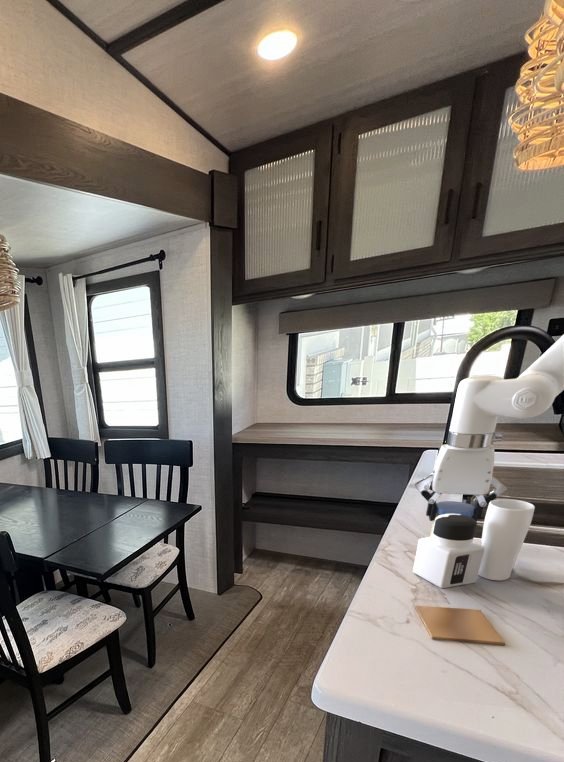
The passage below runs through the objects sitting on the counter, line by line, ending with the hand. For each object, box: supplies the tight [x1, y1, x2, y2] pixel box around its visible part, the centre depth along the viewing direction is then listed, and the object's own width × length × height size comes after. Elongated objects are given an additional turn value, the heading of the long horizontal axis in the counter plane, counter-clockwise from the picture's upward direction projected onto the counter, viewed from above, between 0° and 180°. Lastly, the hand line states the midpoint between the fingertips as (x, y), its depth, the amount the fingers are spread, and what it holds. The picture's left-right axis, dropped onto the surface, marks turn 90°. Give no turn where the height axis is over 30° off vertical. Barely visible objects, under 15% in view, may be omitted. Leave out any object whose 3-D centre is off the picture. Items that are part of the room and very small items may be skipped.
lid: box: [435, 500, 475, 517], centre depth 103 cm, size 7×7×2 cm
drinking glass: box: [478, 498, 536, 582], centre depth 90 cm, size 7×7×15 cm
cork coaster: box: [414, 605, 506, 646], centre depth 79 cm, size 10×10×1 cm
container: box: [412, 514, 485, 589], centre depth 91 cm, size 8×8×13 cm
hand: (451, 519), depth 104 cm, fingers closed on lid, 7 cm apart
